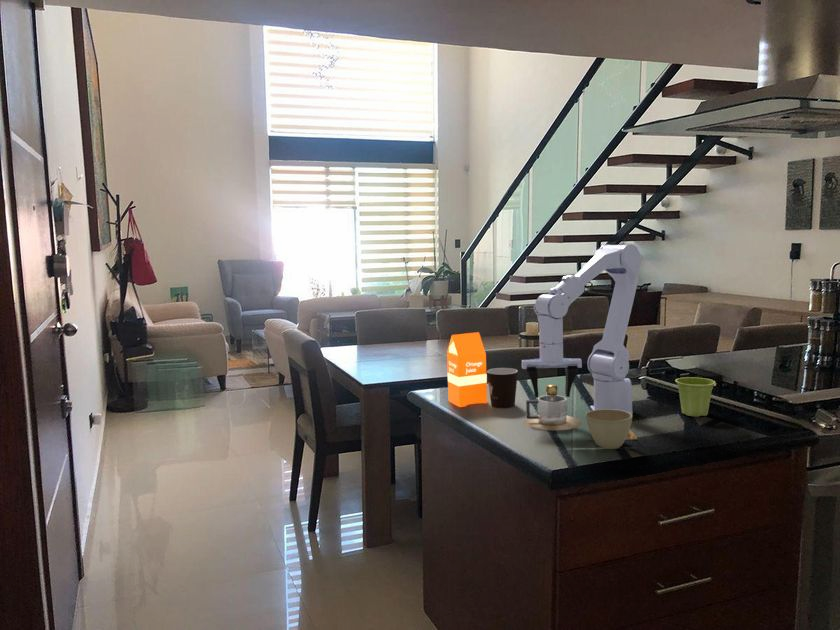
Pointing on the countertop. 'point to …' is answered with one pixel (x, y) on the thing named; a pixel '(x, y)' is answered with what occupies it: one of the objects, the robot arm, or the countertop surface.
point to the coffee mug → (502, 387)
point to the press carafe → (549, 410)
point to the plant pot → (695, 395)
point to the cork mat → (570, 424)
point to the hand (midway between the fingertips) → (551, 396)
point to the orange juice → (466, 370)
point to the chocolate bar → (631, 435)
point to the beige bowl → (609, 427)
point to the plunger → (551, 390)
